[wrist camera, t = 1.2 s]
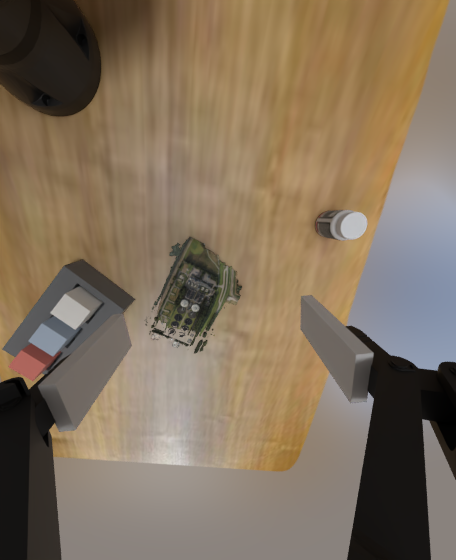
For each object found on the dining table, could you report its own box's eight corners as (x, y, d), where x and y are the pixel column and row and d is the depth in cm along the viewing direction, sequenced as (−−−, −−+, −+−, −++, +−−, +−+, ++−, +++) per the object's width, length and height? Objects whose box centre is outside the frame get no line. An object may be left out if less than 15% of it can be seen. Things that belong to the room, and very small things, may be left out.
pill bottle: (333, 240, 40) (360, 246, 32) (310, 232, 40) (333, 237, 32) (344, 215, 39) (376, 215, 31) (321, 207, 38) (347, 205, 30)
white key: (67, 303, 38) (50, 313, 34) (81, 285, 37) (65, 293, 33) (89, 318, 39) (75, 329, 35) (103, 301, 38) (90, 311, 34)
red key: (28, 352, 41) (8, 366, 37) (40, 337, 40) (21, 350, 36) (50, 365, 42) (32, 380, 38) (62, 351, 41) (45, 365, 37)
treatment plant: (218, 358, 48) (218, 370, 45) (139, 340, 46) (132, 350, 43) (253, 254, 41) (256, 258, 38) (162, 228, 39) (156, 229, 36)
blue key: (47, 328, 39) (28, 341, 36) (59, 312, 38) (41, 323, 35) (69, 343, 40) (52, 356, 37) (82, 327, 39) (67, 339, 36)
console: (25, 334, 44) (2, 349, 40) (82, 259, 40) (64, 265, 35) (76, 366, 47) (59, 383, 42) (135, 299, 43) (124, 310, 38)
